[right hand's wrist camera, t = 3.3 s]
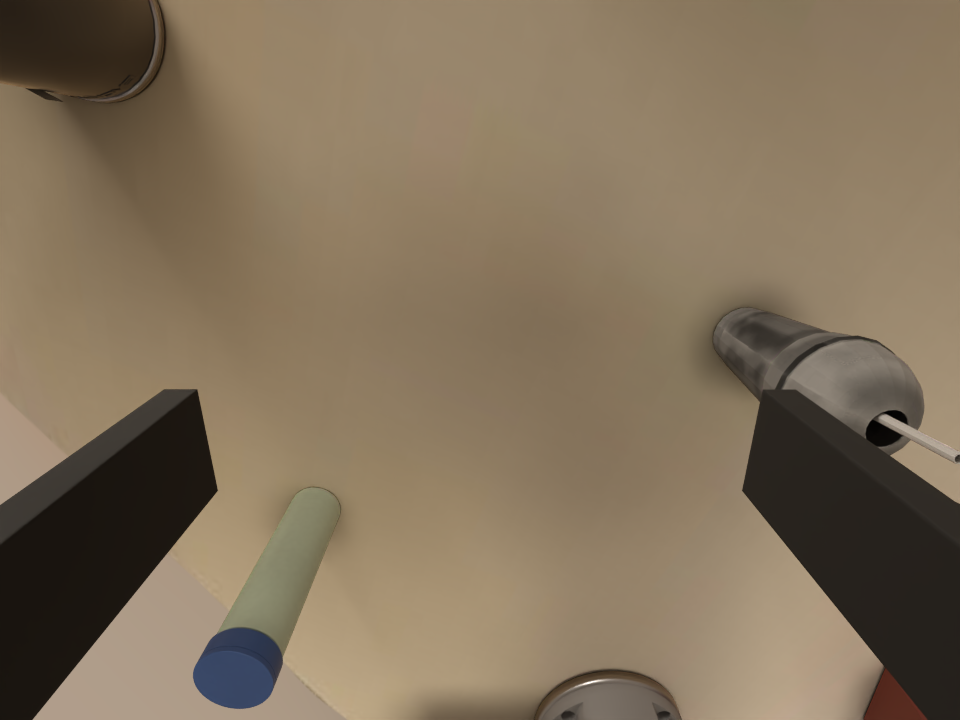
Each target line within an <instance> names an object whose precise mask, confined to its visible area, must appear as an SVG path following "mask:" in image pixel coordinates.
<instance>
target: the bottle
mask: <svg viewBox="0 0 960 720" xmlns="http://www.w3.org/2000/svg"><path fill="white" fill-rule="evenodd" d="M340 511H341V510H340V504H339V502H338V500H337V499H336V497H335V496H334V495H333V494H332V493H330V492H329V491H327V490H325V489H322V488H316V487H311V488H306V489H303V490H301V491H300V492H298V493H297V494H296V495H295V496H294V498H293V500H292V502H291V503H290V505H289V507H288V509H287V510H286V512H285V514H284V516H283V518H282V519H281V521H280V523H279V525H278V526H277V528H276V530H275V532H274V533H273V535H272V537H271V539H270V541H269V542H268V544H267V546H266V548H265V549H264V551H263V553H262V555H261V557H260V558H259V560H258V562H257V564H256V565H255V567H254V569H253V571H252V573H251V574H250V576H249V578H248V580H247V581H246V583H245V585H244V587H243V589H242V590H241V592H240V594H239V596H238V597H237V599H236V601H235V603H234V605H233V606H232V608H231V610H230V612H229V613H228V615H227V617H226V619H225V620H224V622H223V624H222V626H221V628H220V629H219V631H218V633H220V632H222V631H224V630H227V629H232V628H246V629H251V630H255V631H258V632H260V633H262V634H264V635H266V636H268V637H269V638H270V639H272V640H273V641H274V642H275V643H276V644H277V646H278V647H279V649H280V651H281V653H282V658H283V655H284V653H285V650H286V648H287V645H288V643H289V640H290V638H291V635H292V633H293V630H294V628H295V625H296V623H297V620H298V618H299V615H300V613H301V610H302V608H303V605H304V603H305V600H306V598H307V595H308V593H309V590H310V588H311V586H312V583H313V581H314V578H315V576H316V573H317V571H318V568H319V566H320V563H321V561H322V558H323V556H324V553H325V551H326V548H327V546H328V543H329V541H330V538H331V536H332V533H333V531H334V528H335V526H336V523H337V521H338V518H339V516H340ZM218 633H217V634H218Z"/></svg>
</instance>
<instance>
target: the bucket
mask: <svg viewBox="0 0 960 720" xmlns="http://www.w3.org/2000/svg"><path fill="white" fill-rule="evenodd" d="M864 720H927V718H926V717H925V716H924V715H923V713H922V712H921V711H920V710H919V708H918V707H917V706H916V705H915V704H914V702H913V701H912V700H911V699H910V697H909V696H908V695H907V694H906V692H905V691H904V690H903V689H902V687H901V686H900V685H899V684H898V683H897V681H896V680H895V679H894V678H893V676H892V675H891V674H890V673H889V671H888V670H887V669H886V668H885V670H884V673H883V675H882V677H881V680H880V682H879V684H878V687H877V689H876V691H875V694H874V696H873V698H872V701H871V703H870V705H869V708H868V710H867V712H866V715H865V717H864Z"/></svg>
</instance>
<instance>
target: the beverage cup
mask: <svg viewBox="0 0 960 720" xmlns="http://www.w3.org/2000/svg"><path fill="white" fill-rule="evenodd" d="M713 344H714V347H715V350H716V352H717V353H718V354H719V356H720V357H721V358H722V360H723V361H724V362H725V364H726V365H727V366H728V367H729V368H730V369H731V371H732V372H733V373H734V374H735V375H736V376H737V377H738V378H739V379H740V380H741V382H742V383H743V384H744V385H745V386H746V387H747V388H748V389H749V390H750V391H751V393H752V394H753V395H754V396H755V397H756V398H757V399H758V400H759V401H761V396H762V391H763V389H796V390H797V391H799V392H800V393H801V394H803V395H804V396H806V397H807V398H809V399H810V400H811V401H813V402H814V403H816V404H817V405H818V406H820V407H821V408H823V409H824V410H826V411H827V412H828V413H830V414H831V415H833V416H834V417H835V418H837V419H838V420H840V421H841V422H843V423H844V424H845V425H847V426H848V427H850V428H851V429H852V430H854V431H855V432H857V433H858V434H860V435H861V436H862V437H864V438H865V439H867V440H868V441H869V442H871V443H872V444H874V445H875V446H877V447H878V448H879V449H881V450H882V451H884V452H885V453H887V454H888V455H889V456H890V455H892V454H893V453H895V452H897V451H898V450H900V449H902V448H903V447H904V446H905V445H906V444H907V443H908V442H909V441H910V440H912V441H914V442H916V443H918V444H920V445H922V446H924V447H925V448H927V449H929V450H931V451H933V452H935V453H937V454H939V455H940V456H942V457H944V458H946V459H948V460H950V461H952V462H953V463H955V464H960V452H959V451H957V450H955V449H953V448H951V447H949V446H947V445H945V444H943V443H941V442H939V441H937V440H935V439H933V438H932V437H930V436H928V435H926V434H924V433H922V432H920V431H918V428H919V427H920V425H921V422H922V418H923V414H924V400H923V391H922V389H921V386H920V384H919V382H918V380H917V379H916V377H915V375H914V374H913V372H912V370H911V369H910V368H909V366H908V365H907V364H906V363H905V362H904V361H903V360H901V359H900V358H899V357H897V356H896V355H895V354H894V353H893V352H892V351H891V350H889V349H888V348H887V347H885V346H884V345H882V344H881V343H880V342H878V341H877V340H873V339H869V338H865V337H861V336H850V335H846V334H840V333H834V332H828V331H825V330H822V329H819V328H816V327H813V326H810V325H807V324H804V323H801V322H798V321H795V320H791V319H788V318H785V317H782V316H779V315H776V314H773V313H770V312H766V311H762V310H758V309H754V308H740V309H737V310H734V311H732V312H730V313H729V314H727V315H726V316H725V317H723V319H722V320H721V321H720V322H719V323H718V325H717V327H716V329H715V332H714V337H713Z"/></svg>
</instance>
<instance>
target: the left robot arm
mask: <svg viewBox="0 0 960 720" xmlns="http://www.w3.org/2000/svg"><path fill="white" fill-rule="evenodd" d="M163 50H164V26H163V20H162V15H161V11H160V8H159V5H158V2H157V0H0V83H1V84H7V85H13V86H19V87H24V88H26V89H28V90H30V91H32V92H34V93H35V94H37V95H39V96H41V97H43V98H45V99H48V100H54V101H61V100H59V99H57V98H55V97H54V96H52V95H50V94H48V93H46V92H44V91H47V92H52V93H58V94H64V95H69V96H71V97H76V98H80V99H83V100H89V101H95V102H103V103H111V102H119V101H123V100H126V99H129V98H131V97H133V96H135V95H137V94H138V93H139V92H141V91H142V90H143V89H144V88H145V87H147V86H148V84H149V83H150V82H151V81H152V79H153V78H154V76H155V74H156V72H157V70H158V68H159V66H160V63H161V59H162V56H163ZM61 102H63V101H61Z"/></svg>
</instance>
